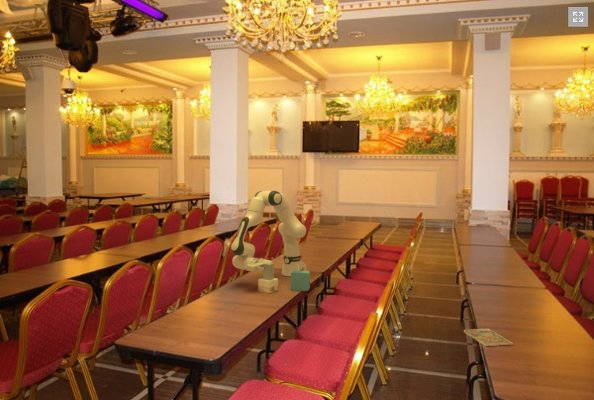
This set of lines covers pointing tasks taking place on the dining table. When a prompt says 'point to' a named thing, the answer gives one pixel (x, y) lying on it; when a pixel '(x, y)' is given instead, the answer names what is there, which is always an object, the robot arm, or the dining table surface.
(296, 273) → the data package
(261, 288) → the tower block lower
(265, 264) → the grey column
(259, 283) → the tower block upper
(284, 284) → the dining table surface
